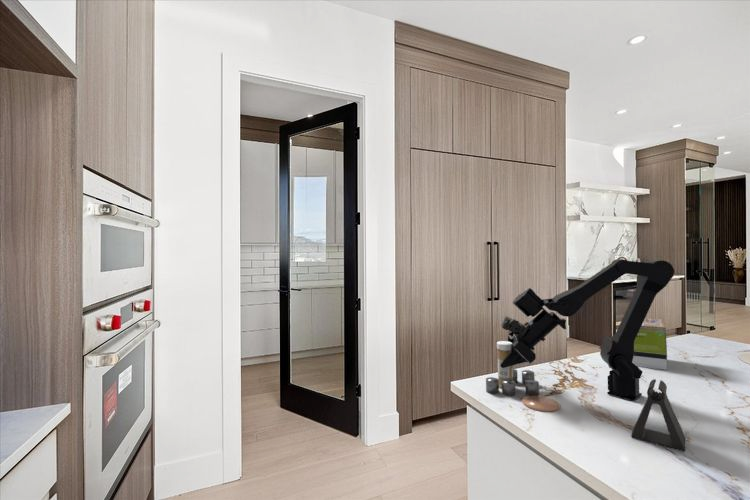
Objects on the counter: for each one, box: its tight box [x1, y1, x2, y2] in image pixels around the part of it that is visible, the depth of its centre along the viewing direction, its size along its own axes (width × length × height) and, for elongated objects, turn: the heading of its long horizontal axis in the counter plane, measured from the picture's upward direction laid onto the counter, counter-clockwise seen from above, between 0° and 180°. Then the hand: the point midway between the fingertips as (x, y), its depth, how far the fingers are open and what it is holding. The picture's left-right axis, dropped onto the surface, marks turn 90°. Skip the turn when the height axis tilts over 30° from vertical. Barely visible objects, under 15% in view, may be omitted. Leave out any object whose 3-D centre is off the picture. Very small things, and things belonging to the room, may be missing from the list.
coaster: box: [522, 394, 561, 413], centre depth 97 cm, size 9×9×1 cm
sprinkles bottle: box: [496, 340, 514, 389], centre depth 110 cm, size 5×5×13 cm
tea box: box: [632, 317, 668, 371], centre depth 130 cm, size 15×10×15 cm, turn 144°
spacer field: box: [485, 368, 540, 397], centre depth 108 cm, size 13×17×4 cm
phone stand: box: [630, 379, 687, 452], centre depth 79 cm, size 9×6×12 cm, turn 48°
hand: (500, 363), depth 110 cm, fingers open, 7 cm apart
